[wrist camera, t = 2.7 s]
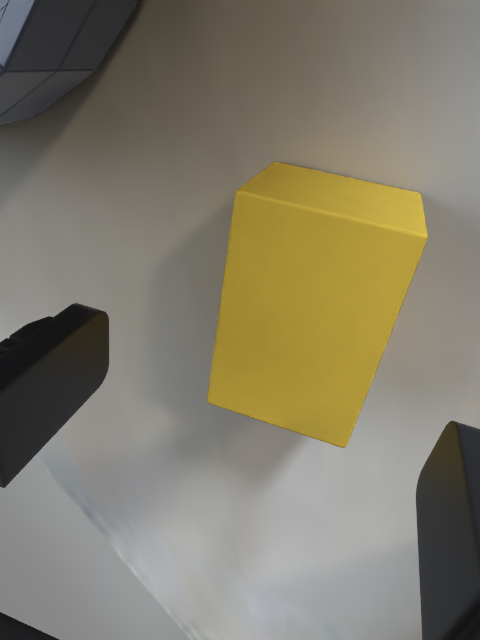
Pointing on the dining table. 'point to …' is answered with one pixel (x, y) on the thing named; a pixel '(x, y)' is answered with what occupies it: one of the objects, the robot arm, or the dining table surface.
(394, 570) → the dining table surface
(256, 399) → the yellow block
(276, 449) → the dining table surface
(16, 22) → the bowl
